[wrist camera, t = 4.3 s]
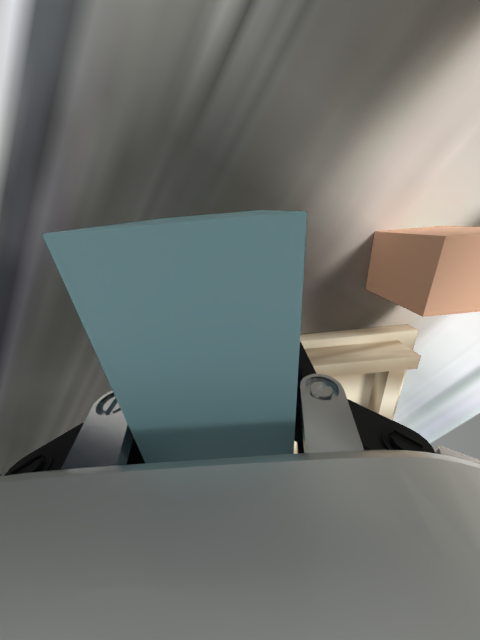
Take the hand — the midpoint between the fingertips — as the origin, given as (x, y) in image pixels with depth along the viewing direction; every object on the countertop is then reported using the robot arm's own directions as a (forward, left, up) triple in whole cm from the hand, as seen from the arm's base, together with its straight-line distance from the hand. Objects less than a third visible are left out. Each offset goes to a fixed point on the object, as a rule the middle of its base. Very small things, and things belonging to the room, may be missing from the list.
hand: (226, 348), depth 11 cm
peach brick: (-2, +14, -8) cm, 16 cm away
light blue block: (0, 0, -1) cm, 1 cm away
